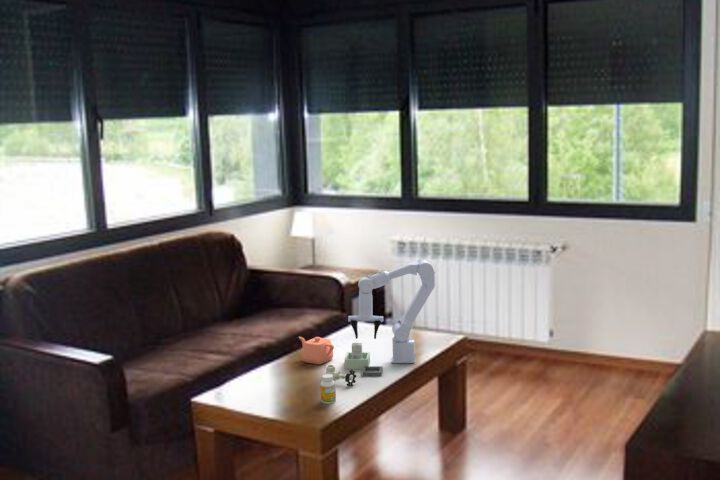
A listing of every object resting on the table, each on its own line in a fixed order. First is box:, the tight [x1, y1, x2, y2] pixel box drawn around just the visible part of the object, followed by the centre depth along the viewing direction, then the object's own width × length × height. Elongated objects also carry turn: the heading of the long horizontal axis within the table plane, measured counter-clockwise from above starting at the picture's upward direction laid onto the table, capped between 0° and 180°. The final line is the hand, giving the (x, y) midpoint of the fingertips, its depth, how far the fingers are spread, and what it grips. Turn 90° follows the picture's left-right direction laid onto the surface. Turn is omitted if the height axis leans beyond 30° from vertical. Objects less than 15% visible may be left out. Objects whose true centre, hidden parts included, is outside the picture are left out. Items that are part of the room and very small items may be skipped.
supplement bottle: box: [320, 373, 337, 405], centre depth 284 cm, size 5×5×10 cm
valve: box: [325, 364, 358, 387], centre depth 303 cm, size 7×7×12 cm
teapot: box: [298, 336, 335, 365], centre depth 331 cm, size 12×18×10 cm, turn 57°
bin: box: [344, 351, 371, 370], centre depth 324 cm, size 10×10×4 cm
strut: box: [351, 342, 363, 359], centre depth 324 cm, size 4×4×8 cm
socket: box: [362, 365, 384, 377], centre depth 314 cm, size 8×8×2 cm
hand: (365, 338), depth 327 cm, fingers open, 7 cm apart
